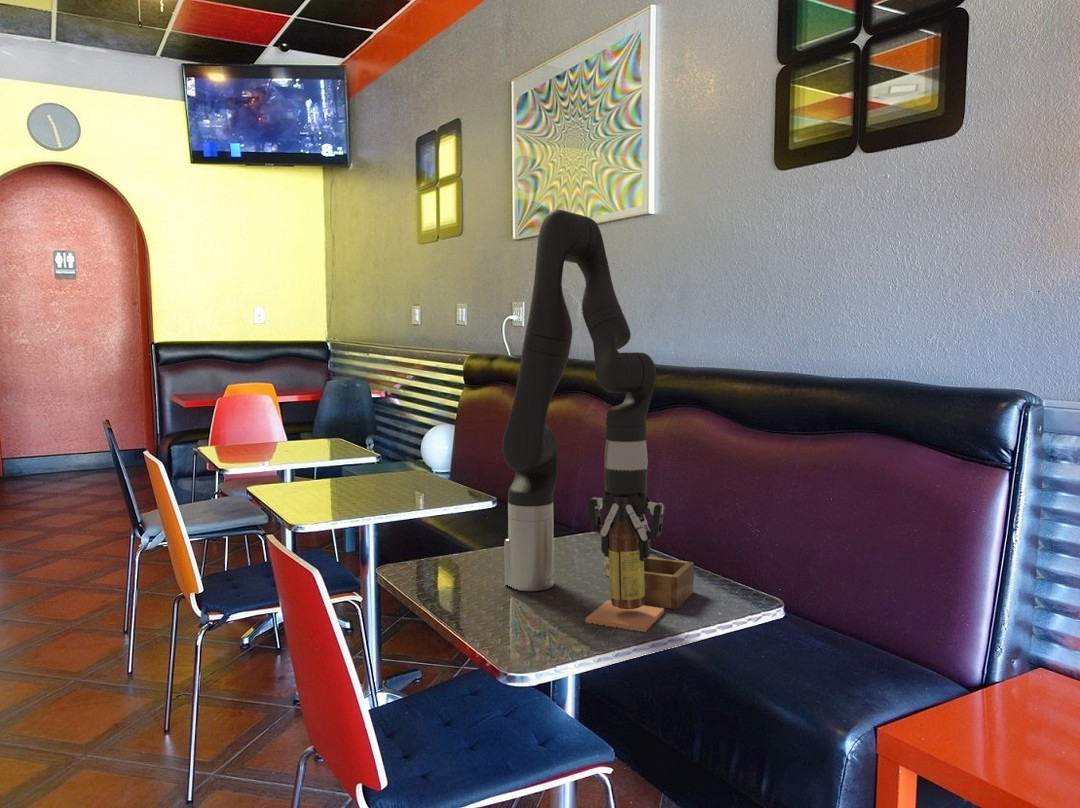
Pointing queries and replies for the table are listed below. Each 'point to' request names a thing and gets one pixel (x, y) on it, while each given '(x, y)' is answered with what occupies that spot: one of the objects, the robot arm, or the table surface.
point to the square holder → (667, 582)
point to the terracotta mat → (625, 616)
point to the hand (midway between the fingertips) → (625, 557)
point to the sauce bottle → (625, 560)
